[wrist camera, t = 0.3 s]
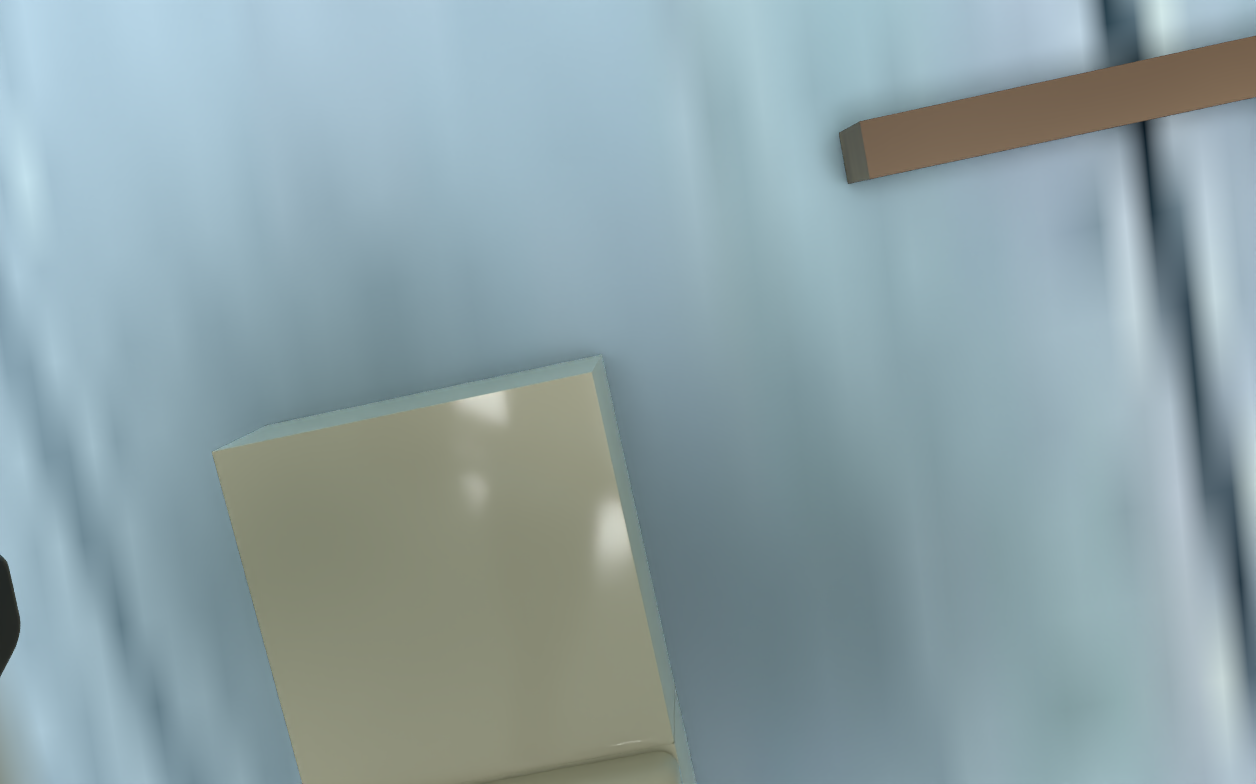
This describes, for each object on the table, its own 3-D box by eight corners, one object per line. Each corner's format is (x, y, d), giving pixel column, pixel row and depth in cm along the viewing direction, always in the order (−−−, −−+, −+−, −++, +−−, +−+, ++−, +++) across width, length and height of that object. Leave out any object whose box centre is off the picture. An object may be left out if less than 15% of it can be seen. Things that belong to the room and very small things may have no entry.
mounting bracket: (1469, 1176, 25) (1722, 1478, 19) (1037, 1238, 25) (1148, 1548, 19) (1335, 25, 21) (1592, -52, 15) (838, 132, 22) (900, 99, 16)
